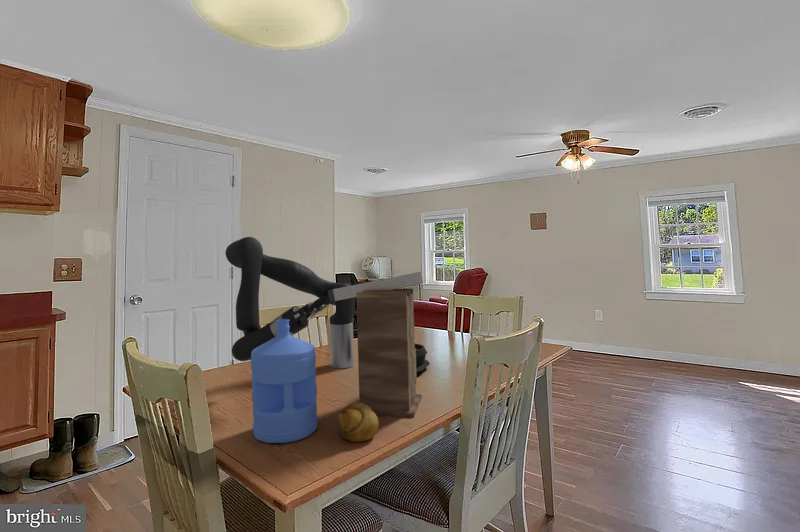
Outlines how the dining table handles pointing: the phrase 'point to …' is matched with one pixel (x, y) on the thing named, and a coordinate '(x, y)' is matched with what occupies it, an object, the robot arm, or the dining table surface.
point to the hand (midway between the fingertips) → (330, 297)
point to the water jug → (284, 388)
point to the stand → (387, 352)
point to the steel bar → (376, 286)
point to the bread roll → (358, 422)
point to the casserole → (421, 358)
